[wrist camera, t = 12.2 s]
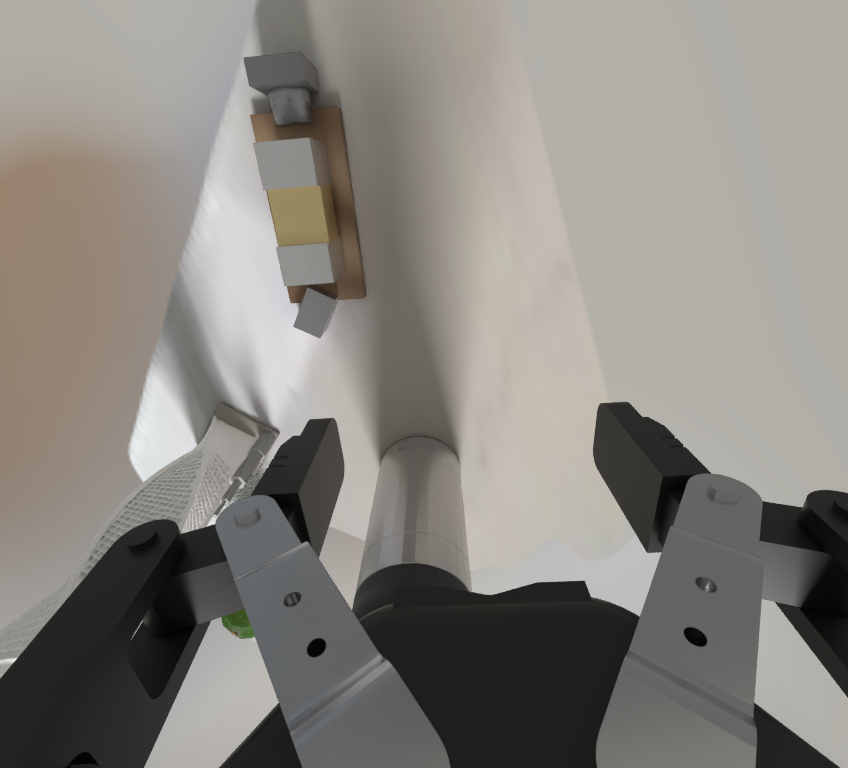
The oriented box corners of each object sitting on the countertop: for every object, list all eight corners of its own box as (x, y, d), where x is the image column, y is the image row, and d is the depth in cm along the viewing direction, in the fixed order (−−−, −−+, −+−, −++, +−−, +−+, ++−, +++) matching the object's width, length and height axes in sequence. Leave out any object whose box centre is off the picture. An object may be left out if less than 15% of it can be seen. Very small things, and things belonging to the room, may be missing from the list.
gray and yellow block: (326, 145, 33) (309, 137, 29) (345, 271, 37) (333, 282, 33) (277, 149, 33) (253, 142, 29) (302, 274, 38) (284, 286, 33)
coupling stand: (370, 326, 40) (364, 340, 37) (300, 331, 41) (287, 345, 37) (334, 62, 32) (321, 45, 28) (245, 71, 32) (221, 56, 28)
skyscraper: (250, 483, 49) (54, 796, 24) (184, 452, 47) (-104, 753, 22) (279, 433, 46) (90, 730, 21) (210, 397, 44) (-90, 673, 19)
